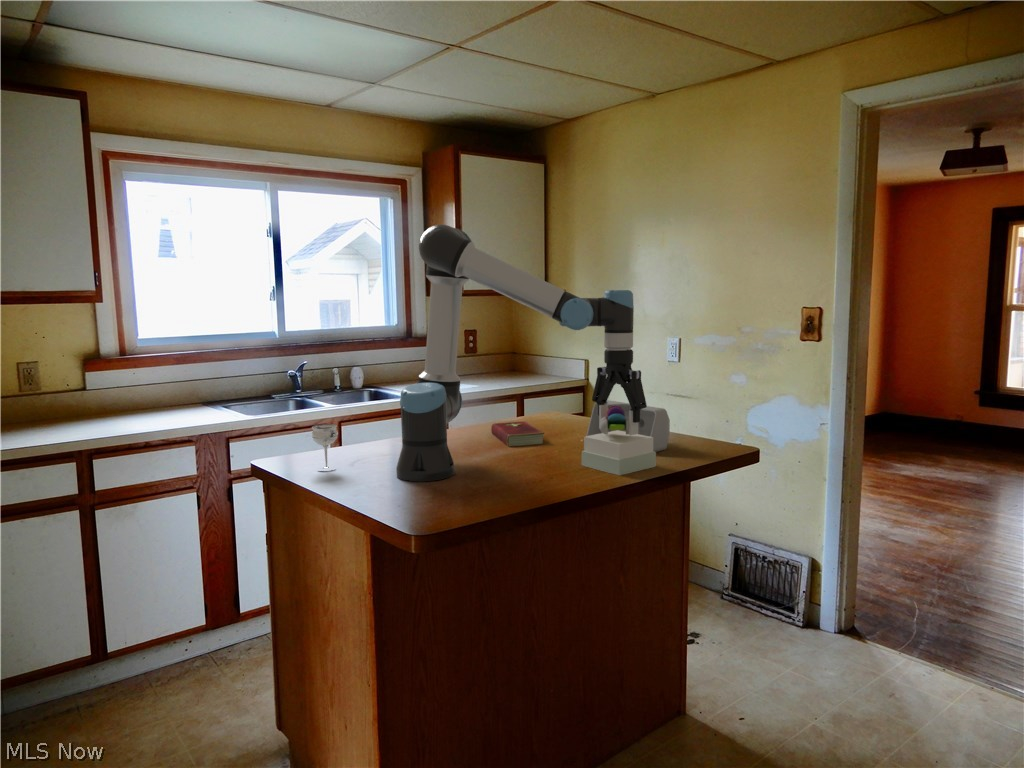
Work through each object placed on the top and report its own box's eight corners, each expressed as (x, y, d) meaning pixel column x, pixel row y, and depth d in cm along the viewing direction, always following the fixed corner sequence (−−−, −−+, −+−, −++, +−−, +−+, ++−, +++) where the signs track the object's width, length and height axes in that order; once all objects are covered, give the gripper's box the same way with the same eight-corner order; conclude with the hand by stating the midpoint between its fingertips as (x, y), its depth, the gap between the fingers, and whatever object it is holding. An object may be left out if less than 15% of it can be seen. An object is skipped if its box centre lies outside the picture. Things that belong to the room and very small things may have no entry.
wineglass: (313, 474, 185) (311, 429, 183) (313, 468, 191) (311, 425, 190) (340, 471, 186) (337, 427, 185) (339, 466, 193) (337, 423, 191)
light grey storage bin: (681, 447, 209) (682, 406, 208) (646, 455, 199) (646, 412, 198) (619, 435, 229) (619, 397, 227) (584, 442, 219) (584, 402, 217)
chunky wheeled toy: (630, 429, 190) (631, 403, 189) (633, 436, 181) (633, 409, 180) (599, 429, 191) (599, 403, 190) (600, 436, 182) (600, 409, 181)
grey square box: (619, 475, 178) (619, 444, 177) (581, 465, 189) (581, 436, 188) (655, 466, 186) (656, 437, 185) (617, 457, 197) (617, 429, 196)
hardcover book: (507, 448, 214) (507, 434, 213) (491, 435, 234) (491, 422, 234) (544, 445, 217) (544, 431, 217) (525, 432, 237) (525, 420, 237)
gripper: (661, 350, 177) (660, 435, 180) (598, 345, 195) (598, 423, 198) (641, 352, 172) (640, 439, 175) (578, 347, 190) (578, 427, 193)
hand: (618, 431), depth 186 cm, fingers closed on chunky wheeled toy, 10 cm apart
